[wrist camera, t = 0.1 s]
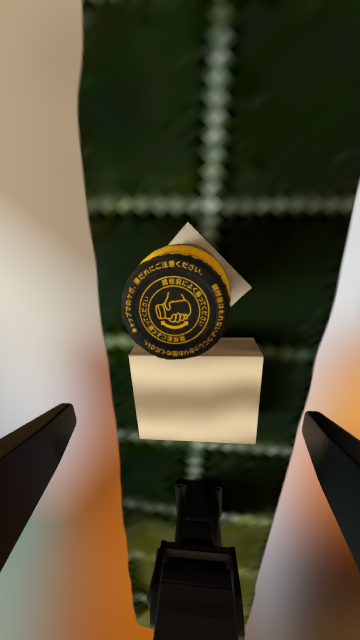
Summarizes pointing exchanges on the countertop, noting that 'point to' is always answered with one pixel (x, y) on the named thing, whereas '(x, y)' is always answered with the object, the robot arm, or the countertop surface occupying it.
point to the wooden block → (199, 393)
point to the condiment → (181, 298)
